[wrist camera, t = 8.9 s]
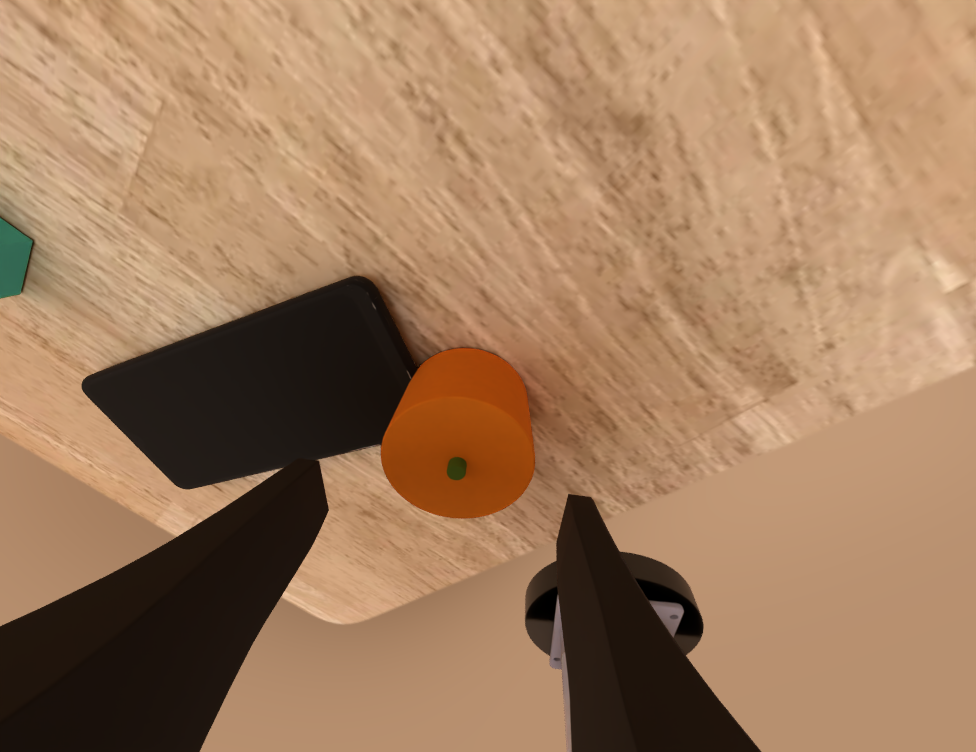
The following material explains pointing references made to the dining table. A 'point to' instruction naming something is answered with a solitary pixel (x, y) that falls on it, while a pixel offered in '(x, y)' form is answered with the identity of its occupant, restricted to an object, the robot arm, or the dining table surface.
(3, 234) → the chart
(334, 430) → the smartphone
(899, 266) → the dining table surface
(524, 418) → the mandarin
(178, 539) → the robot arm
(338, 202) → the dining table surface
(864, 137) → the dining table surface
